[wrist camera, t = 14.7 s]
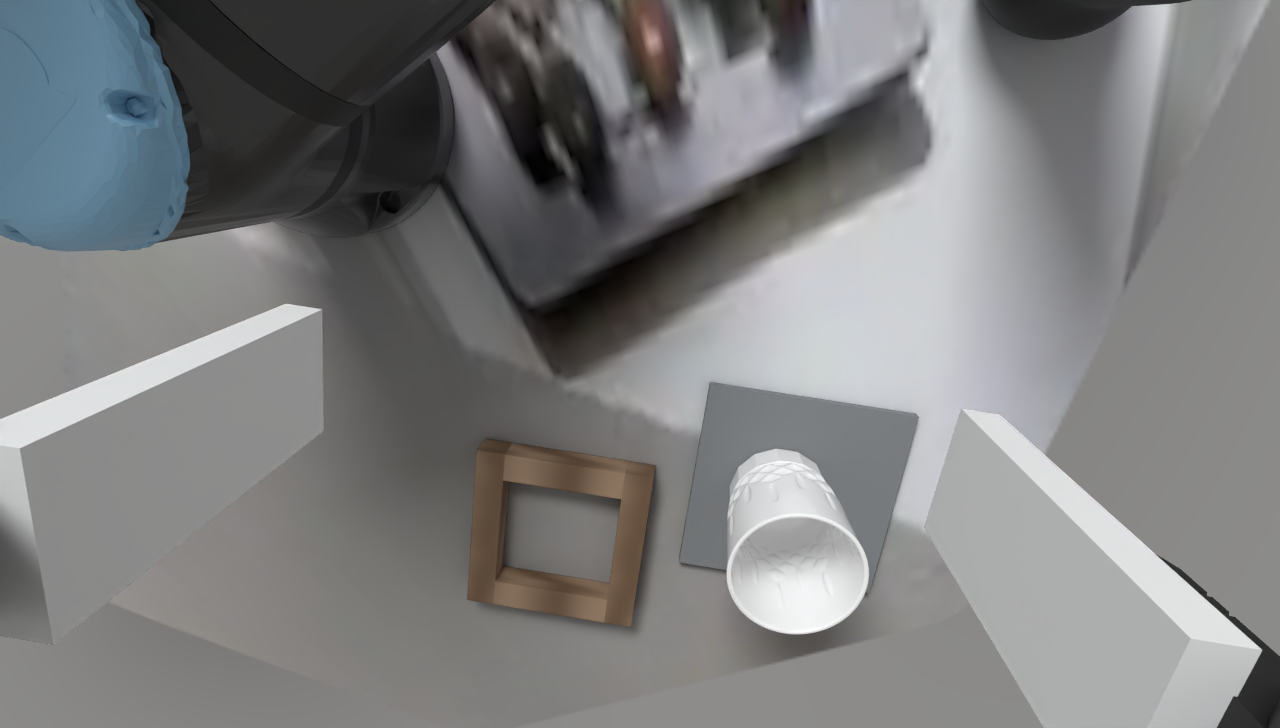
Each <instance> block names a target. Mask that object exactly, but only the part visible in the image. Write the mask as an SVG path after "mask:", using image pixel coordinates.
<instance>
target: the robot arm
mask: <svg viewBox="0 0 1280 728" xmlns="http://www.w3.org/2000/svg"><path fill="white" fill-rule="evenodd" d="M495 1H496V0H0V235H2V236H4V237H6V238H9V239H11V240H14V241H17V242H26V243H28V244H30V245H32V246H39V247H42V248H45V249H49V250H57V251H96V250H119V251H126V250H138V249H141V248H147V247H150V246H152V245H153V244H155V243H158V242H164V241H169V240H175V239H180V238H185V237H191V236H196V235H202V234H207V233H213V232H218V231H223V230H229V229H234V228H240V227H245V226H251V225H256V224H261V223H267V222H272V221H273V222H275V223H278V224H281V225H283V226H286V227H289V228H291V229H294V230H297V231H300V232H303V233H307V234H311V235H316V236H322V237H335V238H344V237H355V236H360V235H365V234H369V233H373V232H377V231H381V230H384V229H387V228H389V227H392V226H394V225H396V224H398V223H400V222H402V221H403V220H405V219H407V218H408V217H410V216H411V215H412V214H414V213H415V212H416V211H417V210H418V209H420V208H421V207H422V205H423V204H424V203H425V202H426V201H427V200H428V199H429V198H430V196H431V195H432V194H433V192H434V191H435V189H436V188H437V186H438V184H439V183H440V181H441V179H442V177H443V175H444V172H445V170H446V167H447V164H448V161H449V158H450V154H451V149H452V143H453V135H454V112H453V103H452V97H451V92H450V88H449V84H448V81H447V78H446V75H445V72H444V69H443V67H442V65H441V62H440V60H439V58H438V56H437V54H436V51H437V50H439V49H440V48H441V47H442V46H443V45H445V44H446V43H447V42H448V41H449V40H450V39H452V38H453V37H454V36H455V35H456V34H457V33H459V32H460V31H461V30H462V29H463V28H464V27H466V26H467V25H468V24H469V23H470V22H472V21H473V20H474V19H475V18H476V17H477V16H479V15H480V14H481V13H482V12H483V11H484V10H486V9H487V8H488V7H489V6H490V5H491V4H493V3H494V2H495ZM323 431H324V422H323V340H322V309H317V308H310V307H304V306H297V305H291V304H284V305H281V306H279V307H276V308H274V309H271V310H269V311H267V312H264V313H262V314H259V315H257V316H254V317H252V318H249V319H247V320H244V321H242V322H239V323H237V324H234V325H232V326H229V327H227V328H225V329H222V330H220V331H217V332H215V333H212V334H210V335H207V336H205V337H202V338H200V339H197V340H195V341H192V342H190V343H187V344H185V345H182V346H180V347H178V348H175V349H173V350H170V351H168V352H165V353H163V354H160V355H158V356H155V357H153V358H150V359H148V360H145V361H143V362H140V363H138V364H136V365H133V366H131V367H128V368H126V369H123V370H121V371H118V372H116V373H113V374H111V375H108V376H106V377H103V378H101V379H98V380H96V381H93V382H91V383H89V384H86V385H84V386H81V387H79V388H76V389H74V390H71V391H69V392H66V393H64V394H61V395H59V396H57V397H54V398H51V399H49V400H47V401H44V402H42V403H39V404H37V405H34V406H32V407H29V408H27V409H24V410H22V411H20V412H17V413H15V414H12V415H9V416H7V417H5V418H2V419H0V636H4V637H10V638H16V639H22V640H28V641H33V642H39V643H45V644H51V645H54V644H55V643H56V642H58V641H59V640H60V639H61V638H63V637H64V636H65V635H66V634H68V633H69V632H70V631H71V630H73V629H74V628H75V627H76V626H78V625H79V624H80V623H81V622H83V621H84V620H85V619H87V618H88V617H89V616H90V615H92V614H93V613H94V612H96V611H97V610H98V609H99V608H101V607H102V606H103V605H104V604H106V603H107V602H108V601H109V600H111V599H112V598H113V597H115V596H116V595H117V594H118V593H120V592H121V591H122V590H123V589H125V588H126V587H127V586H128V585H130V584H131V583H132V582H133V581H135V580H136V579H137V578H139V577H140V576H141V575H142V574H144V573H145V572H146V571H147V570H149V569H150V568H151V567H152V566H154V565H155V564H156V563H157V562H159V561H160V560H161V559H163V558H164V557H165V556H166V555H168V554H169V553H170V552H171V551H173V550H174V549H175V548H176V547H178V546H179V545H180V544H181V543H183V542H184V541H185V540H187V539H188V538H189V537H190V536H192V535H193V534H194V533H195V532H197V531H198V530H199V529H200V528H202V527H203V526H204V525H205V524H207V523H208V522H209V521H211V520H212V519H213V518H214V517H216V516H217V515H218V514H219V513H221V512H222V511H223V510H224V509H226V508H227V507H228V506H230V505H231V504H232V503H233V502H235V501H236V500H237V499H238V498H240V497H241V496H242V495H243V494H245V493H246V492H247V491H248V490H250V489H251V488H252V487H254V486H255V485H256V484H257V483H259V482H260V481H261V480H262V479H264V478H265V477H266V476H267V475H269V474H270V473H271V472H272V471H274V470H275V469H276V468H278V467H279V466H280V465H281V464H283V463H284V462H285V461H286V460H288V459H289V458H290V457H291V456H293V455H294V454H295V453H296V452H298V451H299V450H300V449H302V448H303V447H304V446H305V445H307V444H308V443H309V442H310V441H312V440H313V439H314V438H315V437H317V436H318V435H319V434H320V433H322V432H323ZM924 528H925V530H926V531H927V533H928V535H929V536H930V538H931V540H932V541H933V543H934V545H935V546H936V548H937V550H938V551H939V553H940V555H941V556H942V558H943V560H944V561H945V563H946V565H947V566H948V568H949V570H950V571H951V573H952V575H953V576H954V578H955V580H956V581H957V583H958V585H959V586H960V588H961V590H962V591H963V593H964V595H965V596H966V598H967V600H968V602H969V603H970V605H971V606H972V608H973V610H974V612H975V613H976V615H977V617H978V618H979V620H980V621H981V623H982V625H983V627H984V628H985V630H986V632H987V633H988V635H989V637H990V638H991V640H992V641H993V643H994V645H995V647H996V648H997V650H998V652H999V653H1000V655H1001V657H1002V658H1003V660H1004V662H1005V663H1006V665H1007V667H1008V668H1009V670H1010V672H1011V673H1012V675H1013V677H1014V679H1015V680H1016V682H1017V684H1018V685H1019V687H1020V688H1021V690H1022V692H1023V693H1024V695H1025V697H1026V699H1027V700H1028V702H1029V704H1030V705H1031V707H1032V709H1033V710H1034V712H1035V714H1036V715H1037V717H1038V719H1039V720H1040V722H1041V724H1042V725H1043V727H1044V728H1280V656H1278V655H1277V654H1276V653H1275V652H1274V651H1273V650H1272V649H1270V648H1269V647H1268V646H1267V645H1266V644H1265V643H1264V642H1263V641H1261V640H1260V639H1259V638H1258V637H1257V636H1256V635H1255V634H1253V633H1252V632H1251V631H1250V630H1249V629H1248V628H1247V627H1246V626H1244V625H1243V624H1242V623H1241V622H1240V621H1239V620H1238V619H1236V618H1235V617H1232V616H1229V611H1227V610H1226V609H1225V608H1224V607H1223V606H1222V605H1221V604H1219V603H1218V602H1217V601H1216V600H1215V599H1214V598H1213V597H1208V596H1207V592H1206V591H1205V590H1204V589H1202V588H1201V587H1200V586H1199V585H1198V584H1197V583H1196V582H1194V581H1193V580H1192V579H1191V578H1190V577H1189V576H1188V575H1187V574H1185V573H1184V572H1183V571H1182V570H1181V569H1179V568H1178V567H1176V566H1174V565H1173V564H1171V563H1169V562H1168V561H1166V560H1165V559H1163V558H1161V557H1160V556H1158V555H1156V554H1155V553H1153V552H1152V551H1151V550H1150V549H1149V548H1148V547H1147V546H1146V545H1144V544H1143V543H1142V542H1141V541H1140V540H1139V539H1138V538H1137V537H1135V536H1134V535H1133V534H1132V533H1131V532H1130V531H1129V530H1128V529H1127V528H1126V527H1124V526H1123V525H1122V524H1121V523H1120V522H1119V521H1118V520H1117V519H1116V518H1114V517H1113V516H1112V515H1111V514H1110V513H1109V512H1108V511H1107V510H1105V509H1104V508H1103V507H1102V506H1101V505H1100V504H1099V503H1098V502H1096V501H1095V500H1094V499H1093V498H1092V497H1091V496H1090V495H1089V494H1088V493H1086V492H1085V491H1084V490H1083V489H1082V488H1081V487H1080V486H1079V485H1078V484H1076V483H1075V482H1074V481H1073V480H1072V479H1071V478H1070V477H1069V476H1067V475H1066V474H1065V473H1064V472H1063V471H1062V470H1061V469H1060V468H1059V467H1057V466H1056V465H1055V464H1054V463H1053V462H1052V461H1051V460H1050V459H1048V458H1047V457H1046V456H1045V455H1044V454H1043V453H1042V452H1041V451H1040V450H1039V449H1037V448H1036V447H1035V446H1034V445H1033V444H1032V443H1031V442H1030V441H1028V440H1027V439H1026V438H1025V437H1024V436H1023V435H1022V434H1021V433H1020V432H1018V431H1017V430H1016V429H1015V428H1014V427H1013V426H1012V425H1011V424H1010V423H1008V422H1007V421H1006V420H1005V419H1004V418H1003V417H1002V416H1001V415H999V414H993V413H986V412H980V411H973V410H967V409H961V411H960V414H959V417H958V421H957V424H956V427H955V430H954V433H953V437H952V440H951V443H950V446H949V449H948V452H947V456H946V459H945V462H944V465H943V468H942V471H941V475H940V478H939V481H938V484H937V487H936V491H935V494H934V497H933V500H932V503H931V506H930V510H929V513H928V516H927V519H926V522H925V525H924Z"/></svg>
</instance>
